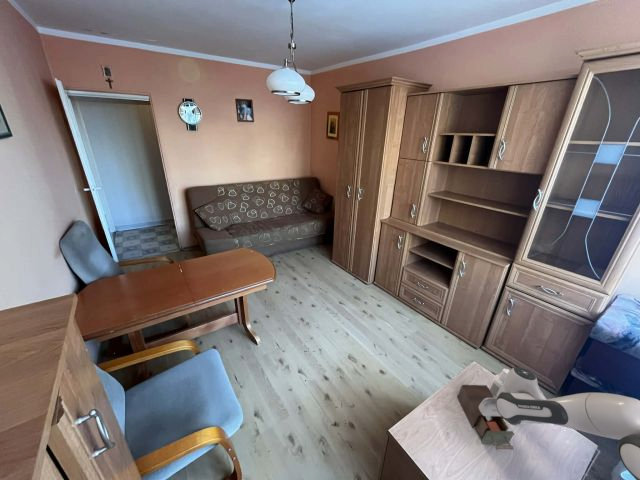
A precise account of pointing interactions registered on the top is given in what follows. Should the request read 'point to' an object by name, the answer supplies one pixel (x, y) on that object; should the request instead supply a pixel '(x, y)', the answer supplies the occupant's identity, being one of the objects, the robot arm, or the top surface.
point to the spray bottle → (498, 382)
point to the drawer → (495, 433)
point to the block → (492, 426)
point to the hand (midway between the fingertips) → (498, 419)
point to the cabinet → (473, 400)
